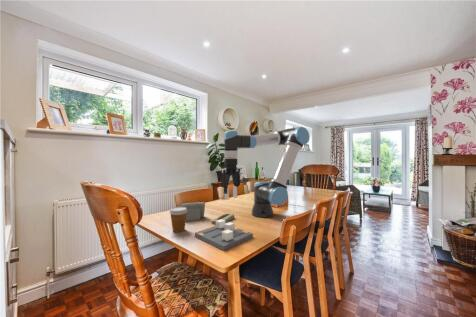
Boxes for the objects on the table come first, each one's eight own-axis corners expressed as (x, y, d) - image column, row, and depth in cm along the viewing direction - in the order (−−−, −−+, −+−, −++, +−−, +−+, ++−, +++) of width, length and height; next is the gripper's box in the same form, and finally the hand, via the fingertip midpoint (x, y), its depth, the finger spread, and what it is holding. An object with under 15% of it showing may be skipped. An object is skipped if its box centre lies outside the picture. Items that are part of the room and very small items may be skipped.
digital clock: (205, 216, 139) (205, 200, 139) (204, 220, 130) (204, 203, 130) (180, 217, 136) (180, 201, 136) (178, 221, 128) (178, 204, 127)
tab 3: (228, 236, 99) (228, 229, 98) (233, 238, 96) (233, 231, 96) (221, 239, 96) (221, 231, 96) (226, 241, 93) (226, 233, 93)
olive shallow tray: (223, 217, 138) (223, 212, 138) (234, 218, 134) (234, 213, 134) (211, 224, 124) (211, 219, 124) (222, 226, 120) (222, 220, 120)
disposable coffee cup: (165, 232, 110) (165, 210, 110) (176, 226, 119) (176, 205, 119) (180, 234, 107) (180, 211, 107) (190, 228, 116) (190, 207, 116)
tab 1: (221, 225, 114) (221, 219, 114) (225, 226, 112) (225, 220, 112) (215, 227, 111) (215, 220, 111) (219, 228, 109) (219, 222, 109)
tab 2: (229, 228, 109) (229, 222, 109) (234, 230, 107) (234, 223, 107) (224, 230, 106) (224, 223, 106) (228, 232, 104) (228, 225, 104)
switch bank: (223, 226, 118) (223, 223, 118) (252, 237, 103) (252, 233, 103) (194, 236, 104) (194, 232, 104) (223, 250, 89) (223, 246, 89)
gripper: (237, 157, 126) (237, 195, 126) (213, 158, 112) (213, 200, 113) (246, 158, 121) (246, 196, 121) (223, 158, 107) (223, 202, 107)
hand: (230, 198), depth 117 cm, fingers open, 6 cm apart
